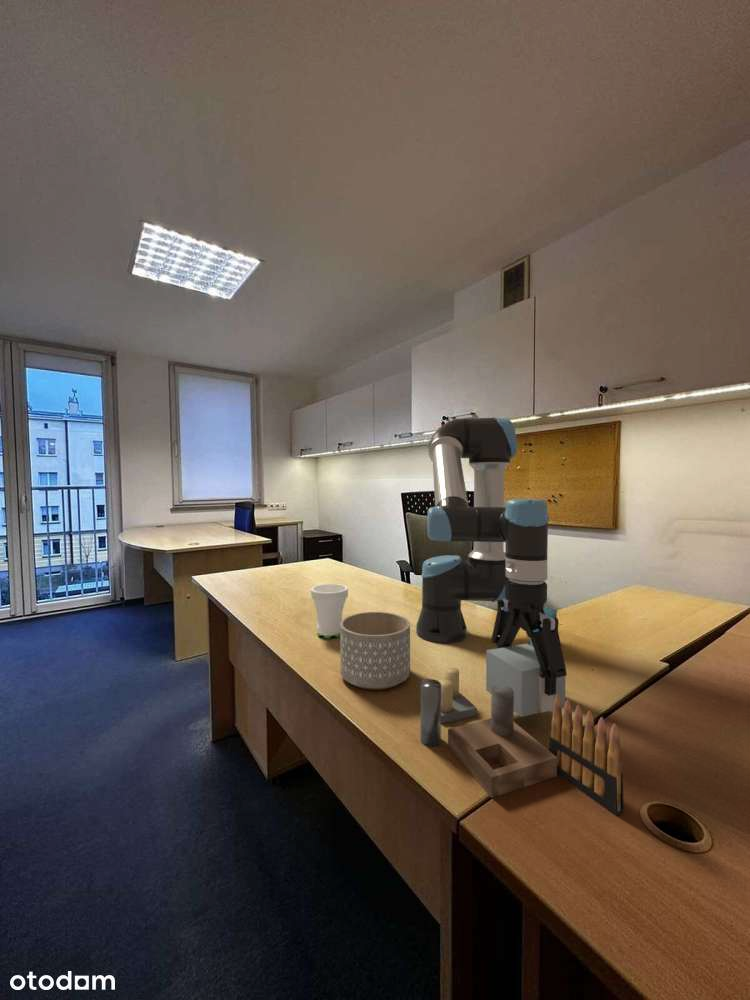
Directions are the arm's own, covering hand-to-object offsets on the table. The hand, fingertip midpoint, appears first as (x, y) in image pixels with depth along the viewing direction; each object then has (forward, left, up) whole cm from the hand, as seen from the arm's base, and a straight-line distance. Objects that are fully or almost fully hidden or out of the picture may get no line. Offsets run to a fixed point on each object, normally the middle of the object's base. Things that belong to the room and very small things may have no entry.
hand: (524, 695), depth 75 cm
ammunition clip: (+4, +17, -5) cm, 18 cm away
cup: (+25, -55, -5) cm, 61 cm away
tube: (-10, -6, -5) cm, 13 cm away
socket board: (+12, +8, -5) cm, 15 cm away
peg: (+20, -1, -5) cm, 20 cm away
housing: (0, 0, 0) cm, 0 cm away
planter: (+21, -26, -5) cm, 34 cm away
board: (+12, -8, -5) cm, 15 cm away
